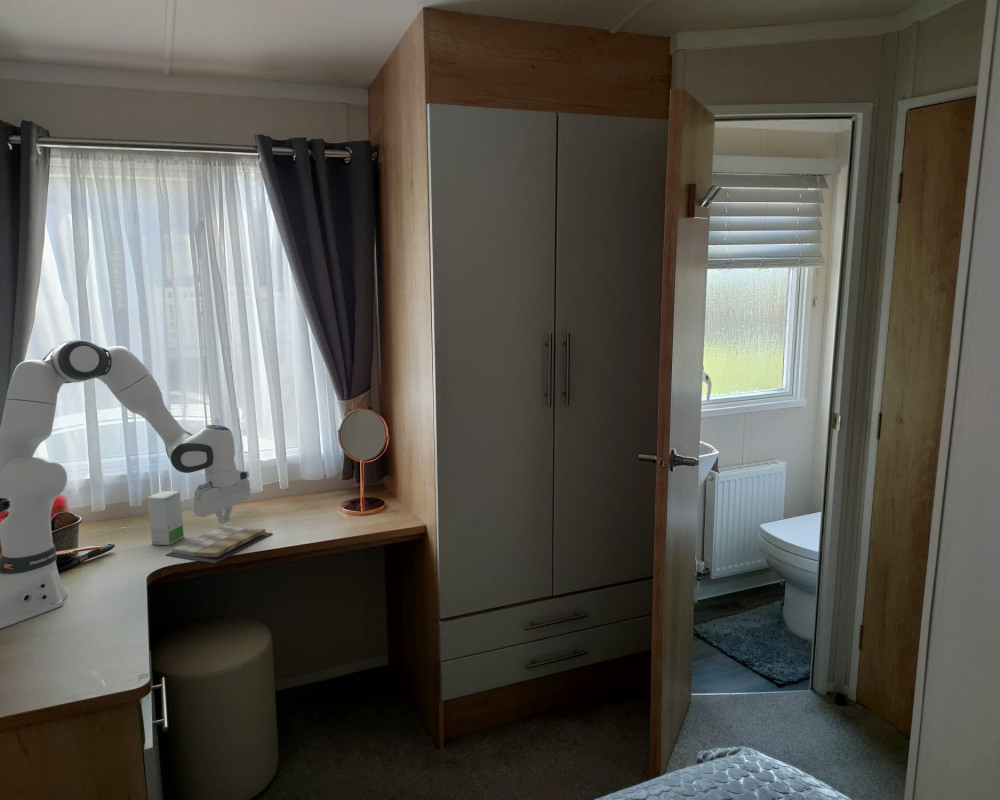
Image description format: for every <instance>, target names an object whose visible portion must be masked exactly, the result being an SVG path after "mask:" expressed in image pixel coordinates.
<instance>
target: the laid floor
mask: <svg viewBox="0 0 1000 800" xmlns="http://www.w3.org/2000/svg"><path fill="white" fill-rule="evenodd" d="M244 529H245V527H237V526H236V527H235V526H230V525H229V526H228V525H221V526H220V527H217V528H215V529H213V530H210V531H208V532H207V533H204V534H202V535H200V536H197V537H195V538H193V539H191V540H188V541H186V542H184V543H181V544H179V545H177V546H175V547H173V548H171V552H172V553H178V554H184V555H190V556H196V554H195V552H197V551H200V550H202V549H204V548H206V547H208V546H210V545H212V544H214V543H216V542H219V541H221V540H223V539H225V538H227V537H229V536H231V535H233V534H236V533H238V532H240V531H242V530H244Z"/></svg>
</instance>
